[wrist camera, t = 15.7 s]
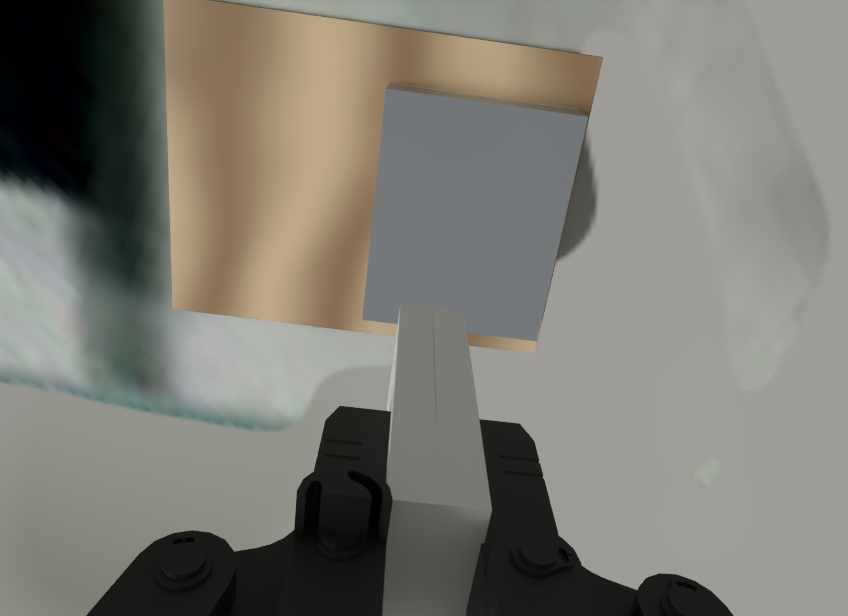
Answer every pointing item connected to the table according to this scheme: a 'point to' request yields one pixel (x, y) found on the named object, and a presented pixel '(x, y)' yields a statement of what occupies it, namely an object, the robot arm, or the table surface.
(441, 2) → the table surface
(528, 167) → the tile
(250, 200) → the mat
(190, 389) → the table surface
